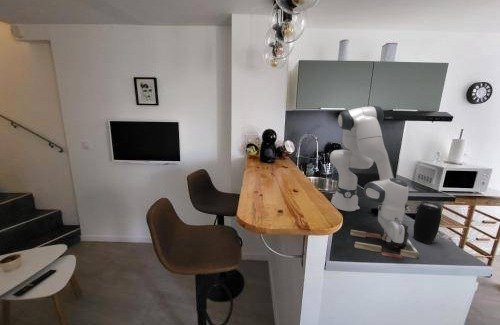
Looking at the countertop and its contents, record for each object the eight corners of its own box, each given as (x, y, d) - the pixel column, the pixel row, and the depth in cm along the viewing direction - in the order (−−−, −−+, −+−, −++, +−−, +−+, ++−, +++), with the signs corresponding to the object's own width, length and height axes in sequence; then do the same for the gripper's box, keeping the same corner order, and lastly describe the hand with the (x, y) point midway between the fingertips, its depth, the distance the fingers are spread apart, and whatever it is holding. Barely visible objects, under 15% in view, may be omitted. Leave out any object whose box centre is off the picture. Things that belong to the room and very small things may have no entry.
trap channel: (349, 230, 114) (349, 226, 114) (403, 238, 107) (404, 234, 107) (355, 250, 97) (356, 245, 97) (420, 262, 90) (422, 257, 90)
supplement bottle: (389, 241, 104) (394, 219, 101) (405, 248, 100) (412, 225, 97) (385, 247, 99) (391, 224, 97) (403, 254, 95) (409, 230, 92)
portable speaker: (408, 233, 112) (415, 199, 108) (429, 236, 109) (437, 202, 105) (415, 242, 104) (423, 206, 100) (438, 246, 101) (447, 209, 97)
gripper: (411, 225, 86) (405, 255, 89) (391, 205, 106) (386, 230, 109) (394, 223, 88) (388, 252, 91) (377, 204, 107) (373, 228, 110)
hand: (387, 240), depth 100 cm, fingers closed
